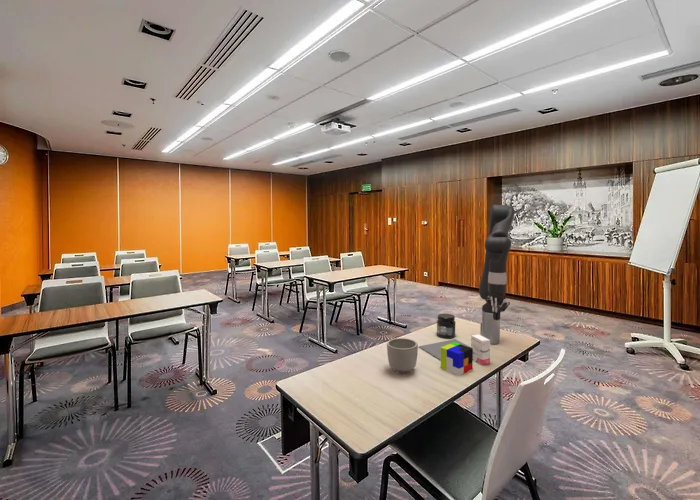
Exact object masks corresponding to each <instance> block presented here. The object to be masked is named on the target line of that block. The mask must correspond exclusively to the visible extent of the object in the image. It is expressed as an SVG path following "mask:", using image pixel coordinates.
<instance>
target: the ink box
mask: <svg viewBox="0 0 700 500" xmlns="http://www.w3.org/2000/svg"><path fill="white" fill-rule="evenodd" d="M470 347H471V348H473V361H474V362H477V363H478V364H480V365H481V366H484V365H489V364H491V344H490V340H489V339H487V338H485V337H483V336H481V335H480V334H472V335H471V338H470Z"/></svg>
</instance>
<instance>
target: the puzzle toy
mask: <svg viewBox="0 0 700 500" xmlns="http://www.w3.org/2000/svg"><path fill="white" fill-rule="evenodd" d="M470 347H471V346H470ZM470 347H467V346H464V345H461V344H458V343H455V342H454V343H451V344H448V345H446V346H443V347H441V361H440V369H442V370H444V371H447V372H449V373H451V374H454V375H456V376H459V377H460V376H461V375H464V374H466V373H468V372H470V371H472V370H473V368H474V367H473V366H474V365H473V361H474V360H473V348H470Z"/></svg>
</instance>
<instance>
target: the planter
mask: <svg viewBox="0 0 700 500" xmlns="http://www.w3.org/2000/svg"><path fill="white" fill-rule="evenodd" d="M418 350H419V345H418V342H417V341H416V340H414V339H411V338H405V337H398V338H397V337H396V338H391V339H389V340H387V342H386V352H387V361H388V365H389V367H390V368H391V369H392V370H394V372H396V373H397V374H399V375H404V374H405V375H406V374H409V373H410V372H411V371H412V370H413V369H414V368H415V367H416V365H417V362H418V361H417V360H418Z"/></svg>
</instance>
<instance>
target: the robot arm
mask: <svg viewBox="0 0 700 500" xmlns="http://www.w3.org/2000/svg"><path fill="white" fill-rule="evenodd" d="M514 218H515V207H514V206H512V205H508V204H507V205H506V204H493V205H492V206H491V209H490V212H489V224H488V225H489V226H488V236H487V238H486V239H485V241H484V250H485V255H484V264H483V270H482V274H481V278H480V283H479V286H478V293H479V297H480V298H481V299H482V300H484V301H485V302H486V303H484V304H483V305H482V306H481V322H480V331H479V333H480V334H479V335H481V336H483V337H485V338H487V339H489V340H490V345H498V344H500V342H501V340H500V339H501V337H500V335H501V313H502V312H505V311H506V310H507V309H508V307H509V306H510V304H511V302H510V301H507V297H506V293H507V284H508V283H507V281H508V280H507V279H508V276H507V263H508V262H507V261H508V256H509V253H510V250H511V249H512V240H511V239H510V238H509V232H510V228H511V226H512V224H513V221H514Z"/></svg>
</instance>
